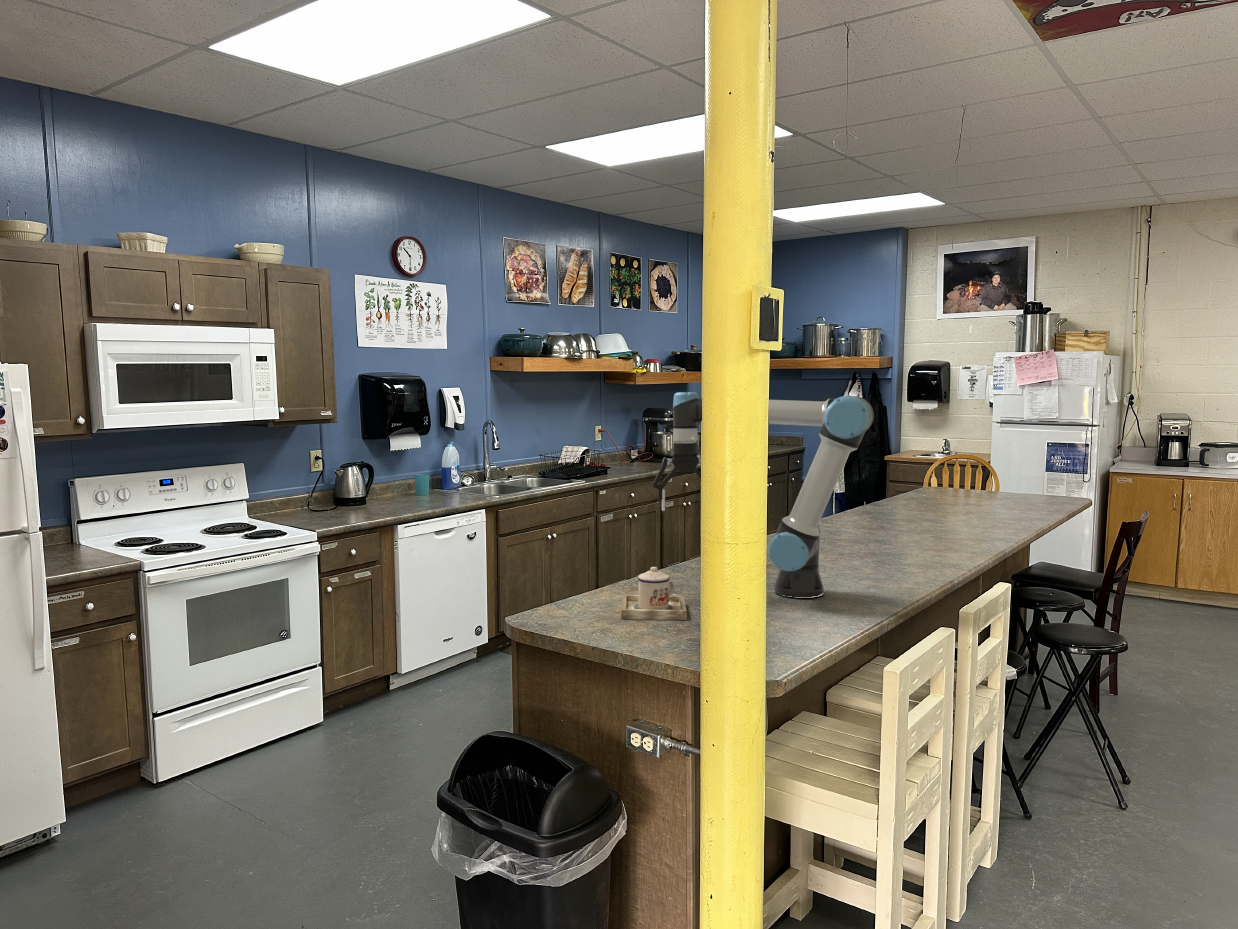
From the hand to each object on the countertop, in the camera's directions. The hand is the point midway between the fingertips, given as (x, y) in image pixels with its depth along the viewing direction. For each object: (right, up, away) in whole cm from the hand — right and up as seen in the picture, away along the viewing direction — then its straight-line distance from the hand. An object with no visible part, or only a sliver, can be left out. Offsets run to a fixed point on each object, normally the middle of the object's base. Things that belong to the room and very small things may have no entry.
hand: (685, 510), depth 257 cm
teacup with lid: (-10, -27, -21) cm, 35 cm away
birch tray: (-11, -28, -21) cm, 36 cm away
